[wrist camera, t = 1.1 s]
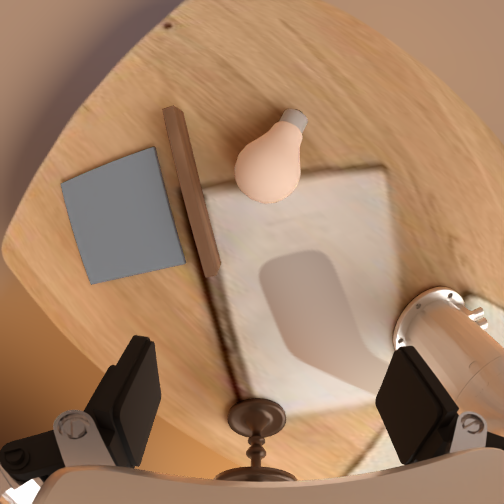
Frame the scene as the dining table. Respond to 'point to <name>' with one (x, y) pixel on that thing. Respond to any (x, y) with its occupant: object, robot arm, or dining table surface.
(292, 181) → the light bulb
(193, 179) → the low wall
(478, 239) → the dining table surface
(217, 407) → the dining table surface
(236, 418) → the candlestick
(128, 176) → the mat
